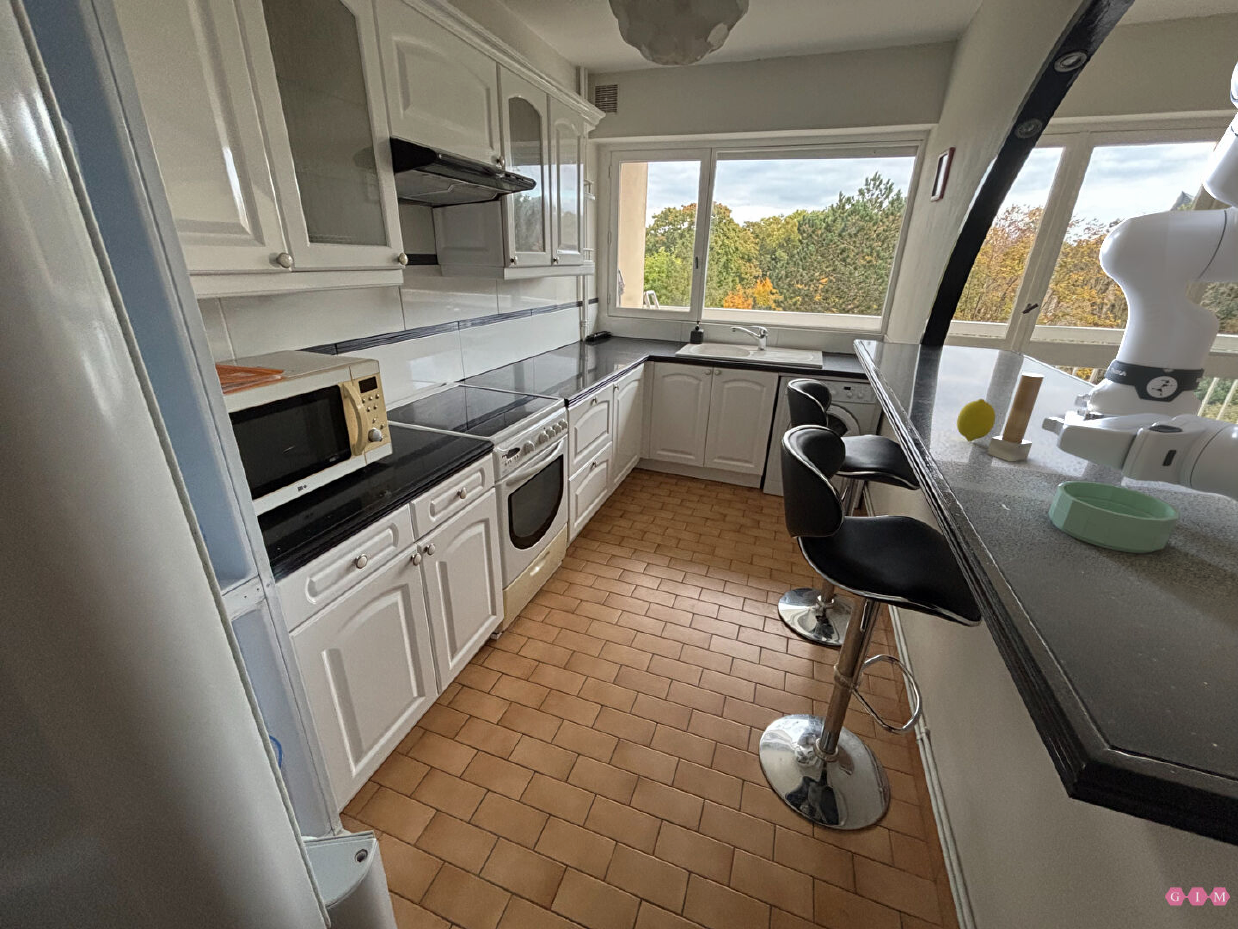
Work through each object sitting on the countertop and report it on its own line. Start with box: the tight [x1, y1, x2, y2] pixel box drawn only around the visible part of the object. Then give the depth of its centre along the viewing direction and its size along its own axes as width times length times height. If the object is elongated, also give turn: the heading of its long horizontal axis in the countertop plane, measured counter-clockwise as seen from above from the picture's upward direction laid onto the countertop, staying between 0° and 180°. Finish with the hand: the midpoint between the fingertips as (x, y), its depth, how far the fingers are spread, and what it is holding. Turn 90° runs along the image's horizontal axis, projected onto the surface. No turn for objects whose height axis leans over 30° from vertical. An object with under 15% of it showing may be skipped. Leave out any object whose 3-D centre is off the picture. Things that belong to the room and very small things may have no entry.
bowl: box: [1047, 480, 1181, 554], centre depth 61 cm, size 11×11×4 cm
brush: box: [986, 372, 1045, 463], centre depth 83 cm, size 4×4×14 cm
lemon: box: [956, 398, 996, 442], centre depth 92 cm, size 6×6×8 cm
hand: (1067, 419), depth 77 cm, fingers open, 8 cm apart
